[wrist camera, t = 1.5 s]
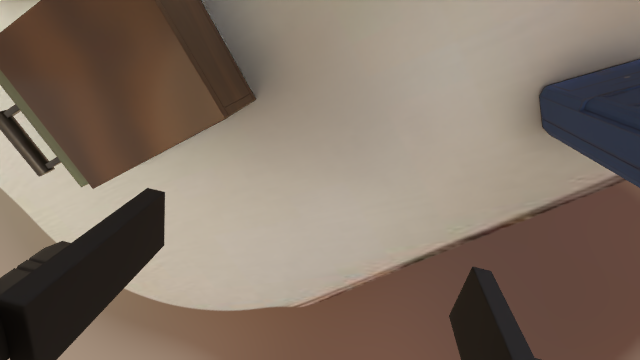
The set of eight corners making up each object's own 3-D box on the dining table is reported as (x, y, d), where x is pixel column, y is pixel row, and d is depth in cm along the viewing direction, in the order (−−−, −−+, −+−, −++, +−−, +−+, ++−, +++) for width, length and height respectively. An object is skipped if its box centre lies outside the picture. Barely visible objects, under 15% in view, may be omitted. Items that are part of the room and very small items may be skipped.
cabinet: (145, 158, 41) (92, 188, 33) (64, 42, 37) (-18, 46, 29) (256, 99, 36) (225, 118, 29) (178, -40, 32) (117, -62, 24)
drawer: (89, 182, 42) (41, 209, 36) (12, 84, 38) (-57, 94, 32) (226, 109, 36) (196, 125, 30) (152, -17, 33) (100, -27, 26)
